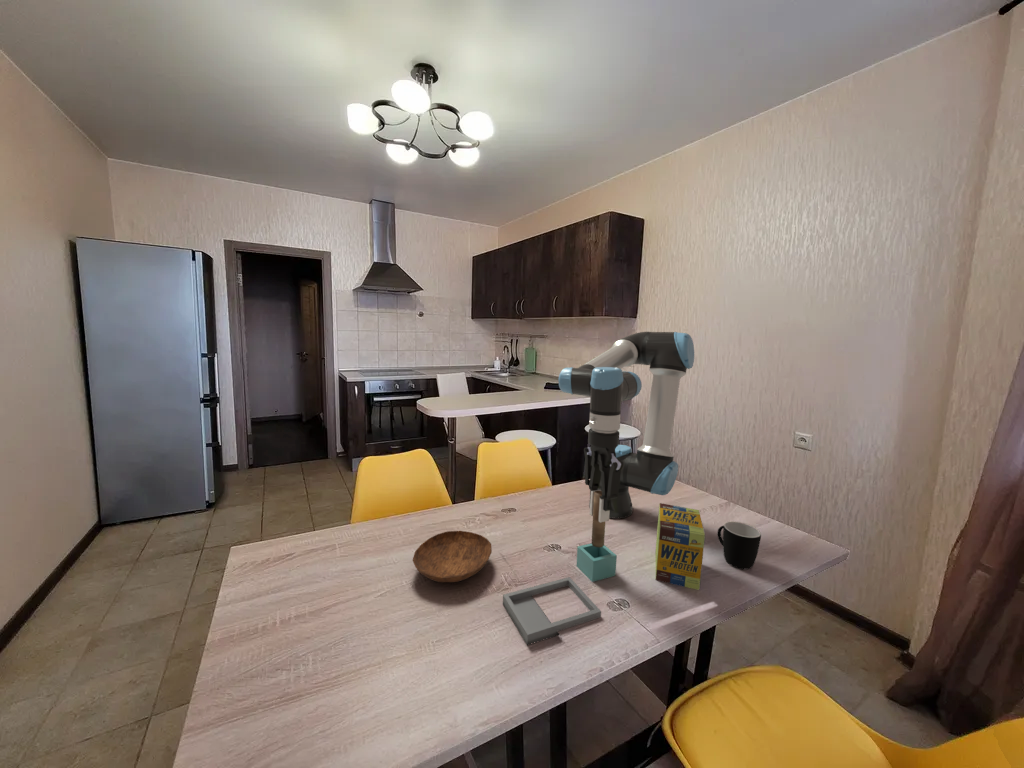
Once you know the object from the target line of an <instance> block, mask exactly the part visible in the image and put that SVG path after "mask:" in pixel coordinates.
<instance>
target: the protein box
mask: <svg viewBox="0 0 1024 768" xmlns="http://www.w3.org/2000/svg"><path fill="white" fill-rule="evenodd" d="M657 516H658V517H657V519H658V520H657V528H656V529H657V530H656V539H655V555H654V556H655V581H658V582H662V583H666V584H667V583H668V584H672V585H675V586H680V587H683V588H688V589H691V590H692V589H693V590H698V591H699V590H700V587H701V577H702V568H703V559H704V558H703V557H704V548H705V539H706V537H705V536H706V534H705V529H704V525H703V522H702V521H703V520H702V517H701V513H700V509H695V508H688V507H684V506H678V505H673V504H667V503H662V502H659V507H658V515H657Z"/></svg>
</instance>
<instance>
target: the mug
mask: <svg viewBox="0 0 1024 768" xmlns="http://www.w3.org/2000/svg"><path fill="white" fill-rule="evenodd" d="M722 530H723V531H722ZM716 534H717V539H718V541H719V543H720V545H721V546H722V549H723V556H724V559H725V562H727V564H729V565H730V566H731V567H733V568H737V569H739V570H749V569H751V568H752V567H753V566H754V564H755V561H756V559H757V557H758V553H759V548H760V543H761V537H762V533H761V531H760V530H759V529H757V528H756V526H753V525H750V524H748V523H745V522H740V521H734V520H733V521H727V522H725V523H724V524H723V525H721V526H720V527H719V528H718V529H717V533H716Z"/></svg>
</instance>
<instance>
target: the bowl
mask: <svg viewBox="0 0 1024 768" xmlns="http://www.w3.org/2000/svg"><path fill="white" fill-rule="evenodd" d="M492 550H493V549H492V543H491V542H490V541H489V539H488V538H487V537H485V536H483V535H481V534H478V533H475V532H471V531H467V530H466V531H464V530H449V531H448V530H447V531H444V532H441V533H438V534H435V535H433V536H431V537H429V538H428V539H427V540H425V541H424V542H422V543H421V544H420V545H419V546H418V548H417V549H416V550H415V551H414V554H413V557H412V562H413V564H414V567H415V569H417V571H418V573H420V574H421V575H422V576H424V577H425V578H428V579H429V580H431V581H435V582H438V583H459V582H462V581H465V580H467V579H469V578H470V577H473V576H474V575H476V574H477V573H479V572H480V571H481V570H482V569H483V568H484V567H485V565H486V564H487V562H488V561H489V558H490V557H491V554H492V553H493V552H492Z"/></svg>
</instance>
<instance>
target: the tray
mask: <svg viewBox="0 0 1024 768" xmlns="http://www.w3.org/2000/svg"><path fill="white" fill-rule="evenodd" d="M564 587H569V588H570V590H571V591H573V593H574V594H575V596H577V598H578V599H579V600H580V601H581V602H582V603H583V604H584V606H586V608H587V609H588V611H585V612H583V613H579V614H577V615H573V616H570V617H566V618H563V619H559V620H557V621H554V622H551V620H550V619H549V618H548V616H547V615H546V613H545V612H544V610H543V609H542V608H541V606H540V605H539V604H538V602H537V601H536V599H535V598H534V596H536V595H538V594H539V595H540V594H543V593H546V592H549V591H553V590H556V589H557V590H558V589H561V588H564ZM502 605H503V608H504V609H505V610H506V612H507V614H508V615H509V617H510V619H511V621H512V622H513V624H514V626H515V627H516V629H517V631H518V632H519V634H520V636H521V638H522V637H523V638H522V639H523V641H524V642H526V643H525V644H526V646H529V645H528V644H530V645H532V644H531V643H533V644H535V643H534V642H536V643H538V642H537V641H539V642H541V640H542V641H544V640H543V639H545V640H547V639H546V638H548V639H551V638H554V637H556V635H557V636H560V635H559V634H560V633H559V632H560V631H563V630H567V629H569V628H572V627H576V626H579V625H582V624H584V623H588V622H590V621H593V620H596V619H600V618H601V617H602V611H601V609H600V608H599V607H598V606H597V605H596V604H595V603H594V601H592V599H590V598H589V596H588V595H587V594H586V593H585V592H584V591H583V590H582V589H581V588H580V587H579V585H578V584H577V583H576V582H575V581H574V580H573V579H572V578H571V577H570V576H568V577H565V578H559V579H556V580H552V581H549V582H545V583H542V584H538V585H534V586H530V587H526V588H523V589H519V590H516V591H512V592H508V593H504V594H502ZM553 636H554V637H553ZM550 637H551V638H550Z"/></svg>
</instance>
